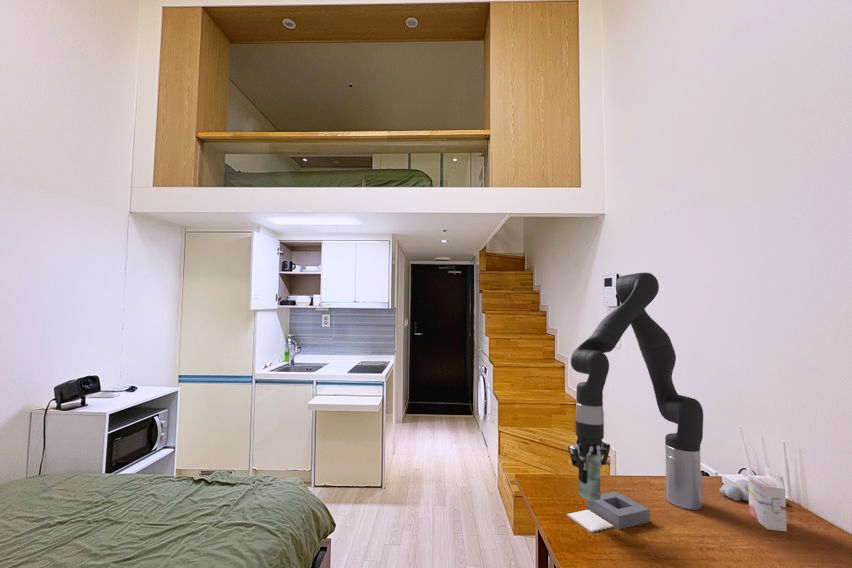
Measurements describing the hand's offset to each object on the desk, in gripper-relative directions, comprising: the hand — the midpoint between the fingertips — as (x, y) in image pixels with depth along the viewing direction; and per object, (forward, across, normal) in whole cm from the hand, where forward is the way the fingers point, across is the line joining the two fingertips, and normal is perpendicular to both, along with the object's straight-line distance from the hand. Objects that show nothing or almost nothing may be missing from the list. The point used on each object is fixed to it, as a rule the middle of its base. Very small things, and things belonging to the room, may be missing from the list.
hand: (589, 481), depth 108 cm
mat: (+11, 0, 0) cm, 11 cm away
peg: (+4, 0, 0) cm, 4 cm away
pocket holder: (+11, -10, 0) cm, 15 cm away
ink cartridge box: (+11, -50, +17) cm, 54 cm away
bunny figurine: (+11, -62, +5) cm, 63 cm away
